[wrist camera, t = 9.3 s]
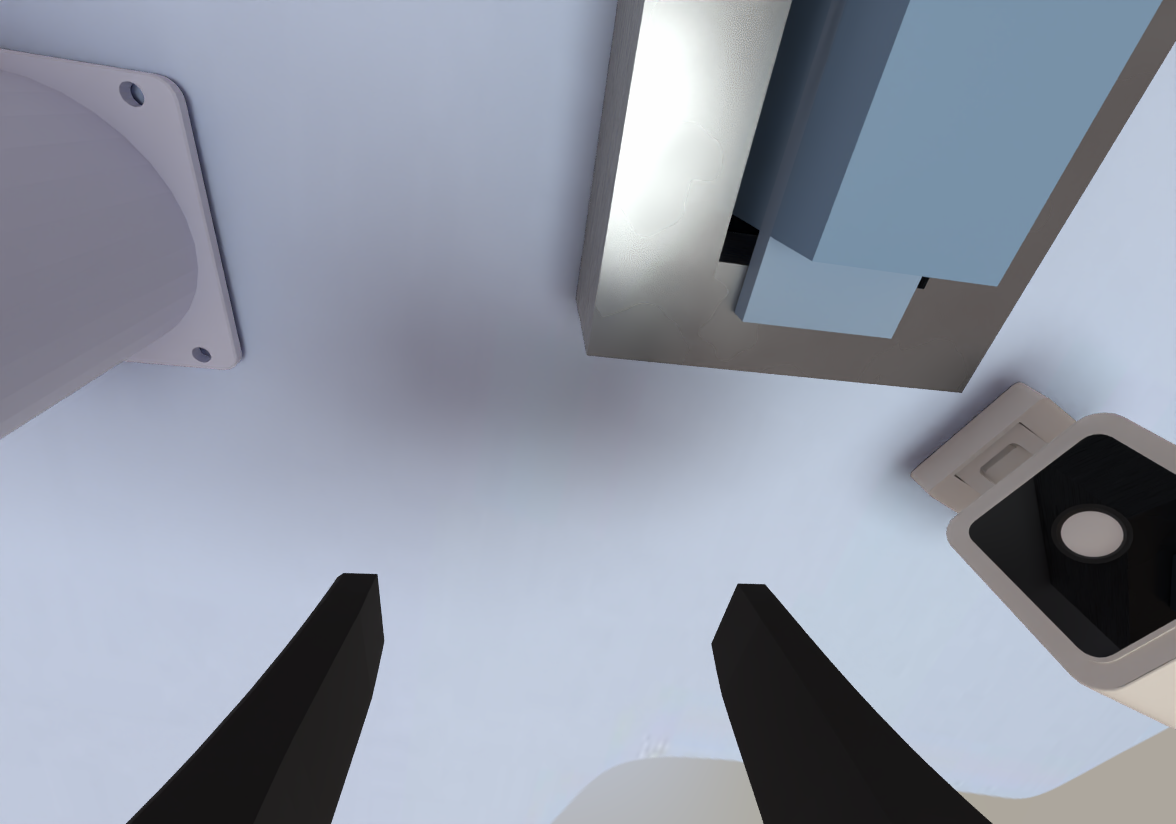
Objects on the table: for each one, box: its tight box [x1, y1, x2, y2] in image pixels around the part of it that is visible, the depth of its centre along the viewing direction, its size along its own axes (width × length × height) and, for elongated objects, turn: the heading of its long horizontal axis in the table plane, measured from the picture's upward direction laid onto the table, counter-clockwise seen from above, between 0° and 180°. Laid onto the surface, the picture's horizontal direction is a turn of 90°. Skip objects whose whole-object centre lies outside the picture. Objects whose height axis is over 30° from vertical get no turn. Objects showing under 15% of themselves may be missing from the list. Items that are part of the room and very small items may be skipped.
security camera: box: [911, 382, 1176, 730], centre depth 17 cm, size 6×7×10 cm
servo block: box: [732, 0, 1163, 339], centre depth 11 cm, size 4×10×7 cm, turn 172°
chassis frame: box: [576, 0, 1176, 393], centre depth 12 cm, size 11×13×4 cm
